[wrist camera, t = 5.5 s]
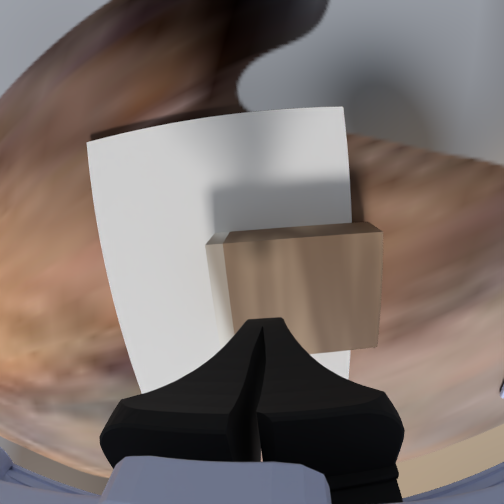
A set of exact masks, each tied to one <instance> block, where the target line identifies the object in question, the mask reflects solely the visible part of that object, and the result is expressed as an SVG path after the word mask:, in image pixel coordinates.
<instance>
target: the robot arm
mask: <svg viewBox="0 0 504 504" xmlns="http://www.w3.org/2000/svg"><path fill="white" fill-rule="evenodd" d="M500 396H501V398H504V384H503V387H502V390H501V392H500ZM404 431H405V430H404V427H403V424H402V421H401V418H400V416H399V414H398V412H397V410H396V409H395V407H394V406H393V404H392V403H391V401H390V399H389V398H388V397H387V395H386V394H385V392H383V391H380V390H376V389H373V388H369V387H366V386H363V385H360V384H357V383H355V382H352V381H350V380H348V379H345V378H343V377H341V376H339V375H337V374H336V373H334V372H332V371H331V370H329V369H327V368H326V367H324V366H323V365H321V364H320V363H319V362H318V361H316V360H315V359H314V358H313V357H312V356H311V355H310V354H309V353H308V352H307V351H306V350H305V349H304V348H303V347H302V346H301V345H300V344H299V343H298V341H297V340H296V339H295V337H294V336H293V335H292V333H291V332H290V330H289V329H288V327H287V325H286V323H285V321H284V319H283V318H282V317H275V318H259V319H247V321H246V322H245V323H244V324H243V325H242V326H241V328H240V329H239V330H238V331H237V332H236V334H235V335H234V336H233V337H232V338H231V339H230V340H229V341H228V343H227V344H226V345H225V346H224V347H223V348H222V349H221V350H220V351H219V352H217V353H216V354H215V355H214V356H213V357H212V358H211V359H209V360H208V361H207V362H205V363H204V364H203V365H201V366H200V367H198V368H197V369H195V370H194V371H192V372H190V373H189V374H187V375H185V376H183V377H182V378H180V379H178V380H176V381H174V382H172V383H170V384H168V385H165V386H163V387H160V388H158V389H155V390H153V391H150V392H147V393H144V394H140V395H137V396H133V397H129V398H126V399H121V401H120V402H119V403H118V405H117V407H116V408H115V410H114V411H113V413H112V415H111V416H110V418H109V420H108V422H107V424H106V425H105V427H104V429H103V431H102V433H101V435H100V446H101V448H102V450H103V453H104V454H105V456H106V458H107V459H108V461H109V463H110V464H111V466H112V467H113V469H114V470H113V472H112V474H111V476H110V478H109V481H108V482H107V485H106V487H105V489H104V491H103V493H102V495H98V494H94V493H91V492H87V491H84V490H81V489H78V488H75V487H72V486H69V485H66V484H63V483H60V482H57V481H55V480H52V479H49V478H47V477H44V476H41V475H39V474H36V473H34V472H32V471H30V470H27V469H25V468H23V467H20V466H18V465H16V464H14V463H13V462H12V460H11V458H10V457H9V455H8V454H7V453H6V452H5V451H4V450H3V449H2V448H1V447H0V504H504V462H502V463H500V464H498V465H496V466H494V467H491V468H489V469H487V470H485V471H482V472H480V473H478V474H475V475H473V476H470V477H468V478H465V479H462V480H460V481H457V482H454V483H452V484H449V485H446V486H443V487H440V488H437V489H434V490H431V491H428V492H424V493H421V494H417V495H414V496H410V497H407V498H402V496H401V493H400V490H399V487H398V483H397V478H398V476H399V472H398V469H397V466H396V460H397V457H398V455H399V452H400V449H401V446H402V442H403V439H404ZM261 451H262V458H263V462H261Z"/></svg>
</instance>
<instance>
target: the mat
mask: <svg viewBox="0 0 504 504" xmlns="http://www.w3.org/2000/svg"><path fill="white" fill-rule="evenodd" d="M87 150H88V161H89V170H90V178H91V186H92V194H93V201H94V207H95V214H96V220H97V226H98V231H99V237H100V242H101V247H102V252H103V257H104V262H105V267H106V271H107V276H108V280H109V284H110V289H111V293H112V297H113V301H114V305H115V308H116V312H117V316H118V320H119V323H120V327H121V330H122V334H123V337H124V341H125V344H126V347H127V350H128V354H129V357H130V360H131V363H132V366H133V369H134V372H135V375H136V378H137V381H138V384H139V387H140V389H141V392H142V394H144V393H147V392H150V391H153V390H155V389H158V388H160V387H163V386H165V385H168V384H170V383H172V382H174V381H176V380H178V379H180V378H182V377H183V376H185V375H187V374H189V373H190V372H192V371H194V370H195V369H197V368H198V367H200V366H201V365H203V364H204V363H205V362H207V361H208V360H209V359H211V358H212V357H213V356H214V355H215V354H216V353H217V352H219V351H220V350H221V348H220V342H219V336H218V330H217V324H216V318H215V311H214V305H213V298H212V291H211V284H210V278H209V270H208V263H207V256H206V249H205V244H206V243H207V242H208V241H209V239H210V238H211V237H212V236H213V235H214V233H221V232H233V231H245V230H257V229H270V228H283V227H297V226H311V225H325V224H340V223H352V214H351V192H350V176H349V162H348V150H347V139H346V129H345V119H344V111H343V107H314V108H313V107H311V108H293V109H278V110H267V111H255V112H246V113H237V114H228V115H221V116H213V117H206V118H200V119H193V120H187V121H181V122H175V123H170V124H165V125H159V126H154V127H149V128H145V129H140V130H135V131H131V132H126V133H122V134H118V135H114V136H110V137H106V138H102V139H98V140H94V141H90V142H87ZM310 355H311V356H312V357H313V358H314V359H315V360H316V361H318V362H319V363H320V364H321V365H323V366H324V367H326V368H327V369H329V370H331V371H332V372H334V373H336V374H337V375H339V376H341V377H343V378H345V379H348V378H349V364H350V350H347V351H338V352H328V353H317V354H310Z"/></svg>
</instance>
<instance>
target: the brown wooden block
mask: <svg viewBox="0 0 504 504" xmlns="http://www.w3.org/2000/svg"><path fill="white" fill-rule="evenodd" d="M205 249H206V256H207V263H208V270H209V278H210V284H211V291H212V298H213V305H214V311H215V318H216V324H217V330H218V336H219V342H220V348H221V349H222V348H223V347H224V346H225V345H226V344H227V343H228V341H229V340H230V339H231V338H232V337H233V336H234V335H235V334H236V332H237V331H238V330H239V329H240V328H241V326H242V325H243V324H244V323H245V322H246V321H247V319H259V318H275V317H282V318H283V319H284V321H285V323H286V325H287V327H288V329H289V330H290V332H291V333H292V335H293V336H294V337H295V339H296V340H297V341H298V343H299V344H300V345H301V346H302V347H303V348H304V349H305V350H306V351H307V352H308V353H309V354H317V353H328V352H338V351H347V350H355V349H363V348H371V347H377V344H378V334H379V322H380V309H381V293H382V270H383V231H381V230H380V229H378V228H377V227H375V226H374V225H372V224H371V223H369V222H355V223H340V224H325V225H311V226H297V227H283V228H270V229H257V230H245V231H233V232H221V233H214V235H213V236H212V237H211V238H210V239H209V241H208V242H207V243H206V244H205Z"/></svg>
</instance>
